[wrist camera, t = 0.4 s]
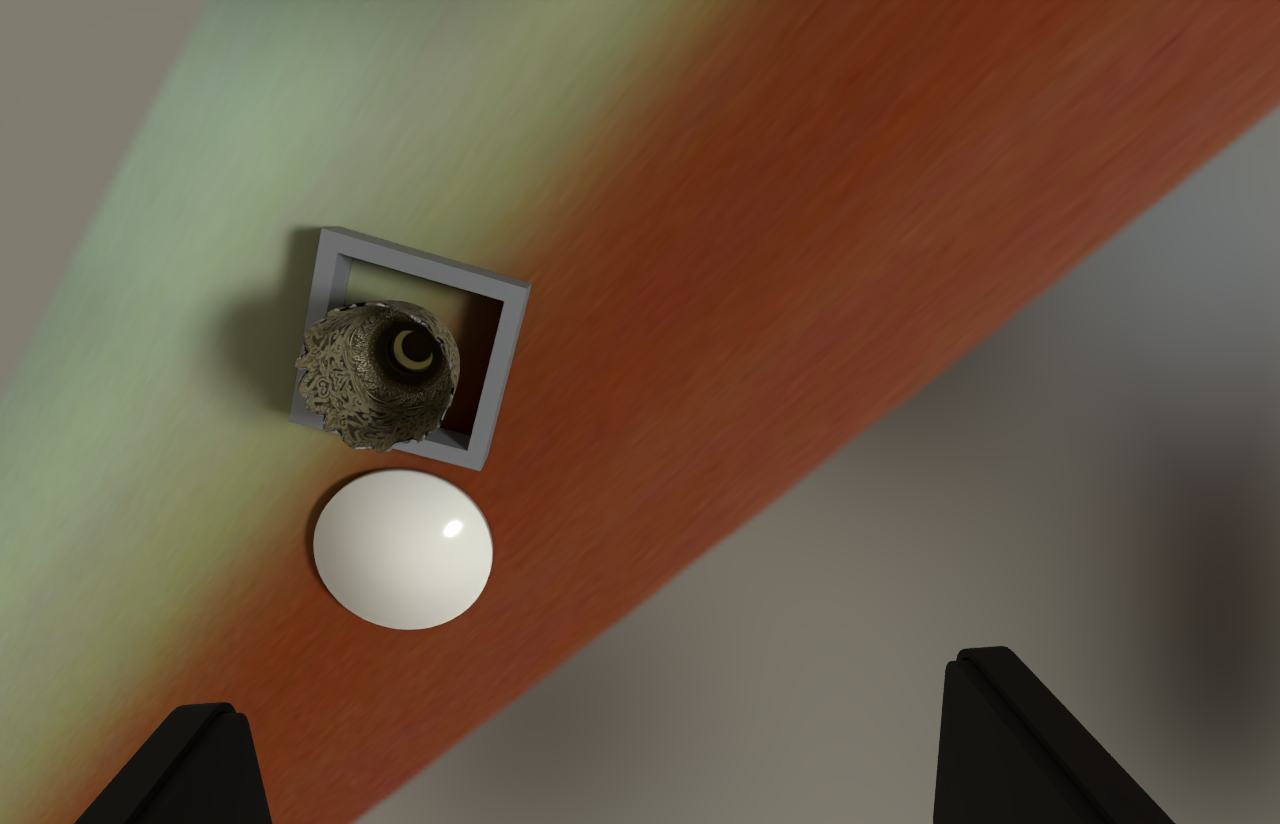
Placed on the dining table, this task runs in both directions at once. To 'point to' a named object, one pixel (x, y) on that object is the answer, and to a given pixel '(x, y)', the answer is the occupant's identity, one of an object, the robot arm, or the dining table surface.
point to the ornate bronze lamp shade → (378, 374)
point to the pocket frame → (346, 244)
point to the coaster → (403, 548)
